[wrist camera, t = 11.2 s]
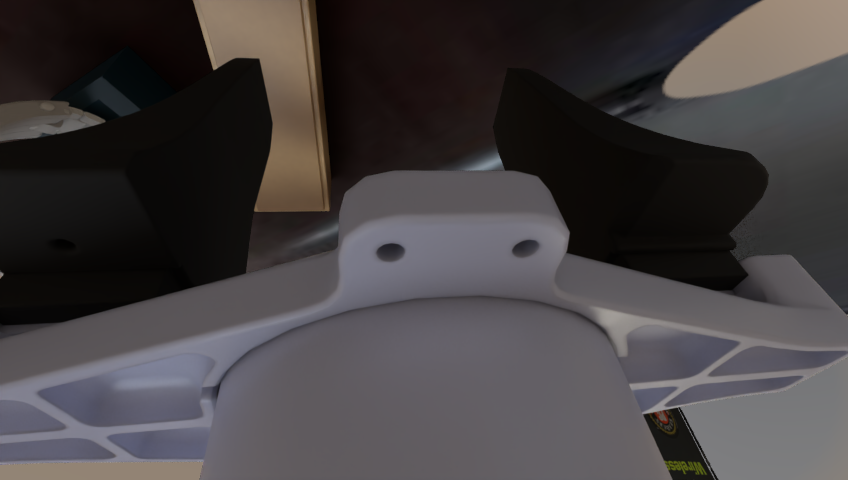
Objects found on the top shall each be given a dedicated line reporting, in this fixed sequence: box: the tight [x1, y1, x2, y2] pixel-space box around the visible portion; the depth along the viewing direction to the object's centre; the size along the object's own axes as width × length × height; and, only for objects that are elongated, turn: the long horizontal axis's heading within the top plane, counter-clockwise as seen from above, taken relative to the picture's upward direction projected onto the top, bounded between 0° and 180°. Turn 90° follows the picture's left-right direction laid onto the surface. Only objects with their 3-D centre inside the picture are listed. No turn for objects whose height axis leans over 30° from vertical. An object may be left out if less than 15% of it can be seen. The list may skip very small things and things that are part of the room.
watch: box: [0, 46, 177, 276], centre depth 19 cm, size 6×8×11 cm
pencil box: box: [193, 0, 331, 212], centre depth 21 cm, size 14×4×3 cm, turn 174°
